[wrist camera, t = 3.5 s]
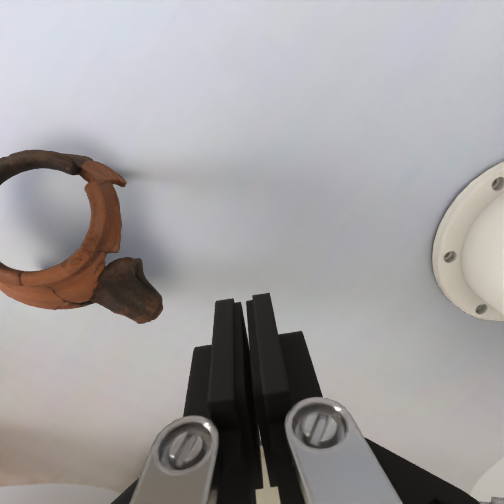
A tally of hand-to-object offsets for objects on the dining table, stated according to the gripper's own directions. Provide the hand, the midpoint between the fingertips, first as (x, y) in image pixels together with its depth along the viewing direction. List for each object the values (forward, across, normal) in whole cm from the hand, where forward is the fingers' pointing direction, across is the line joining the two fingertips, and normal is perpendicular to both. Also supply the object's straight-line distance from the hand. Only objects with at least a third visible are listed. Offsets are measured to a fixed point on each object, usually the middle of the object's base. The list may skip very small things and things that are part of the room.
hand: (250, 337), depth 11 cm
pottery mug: (+14, +10, 0) cm, 17 cm away
